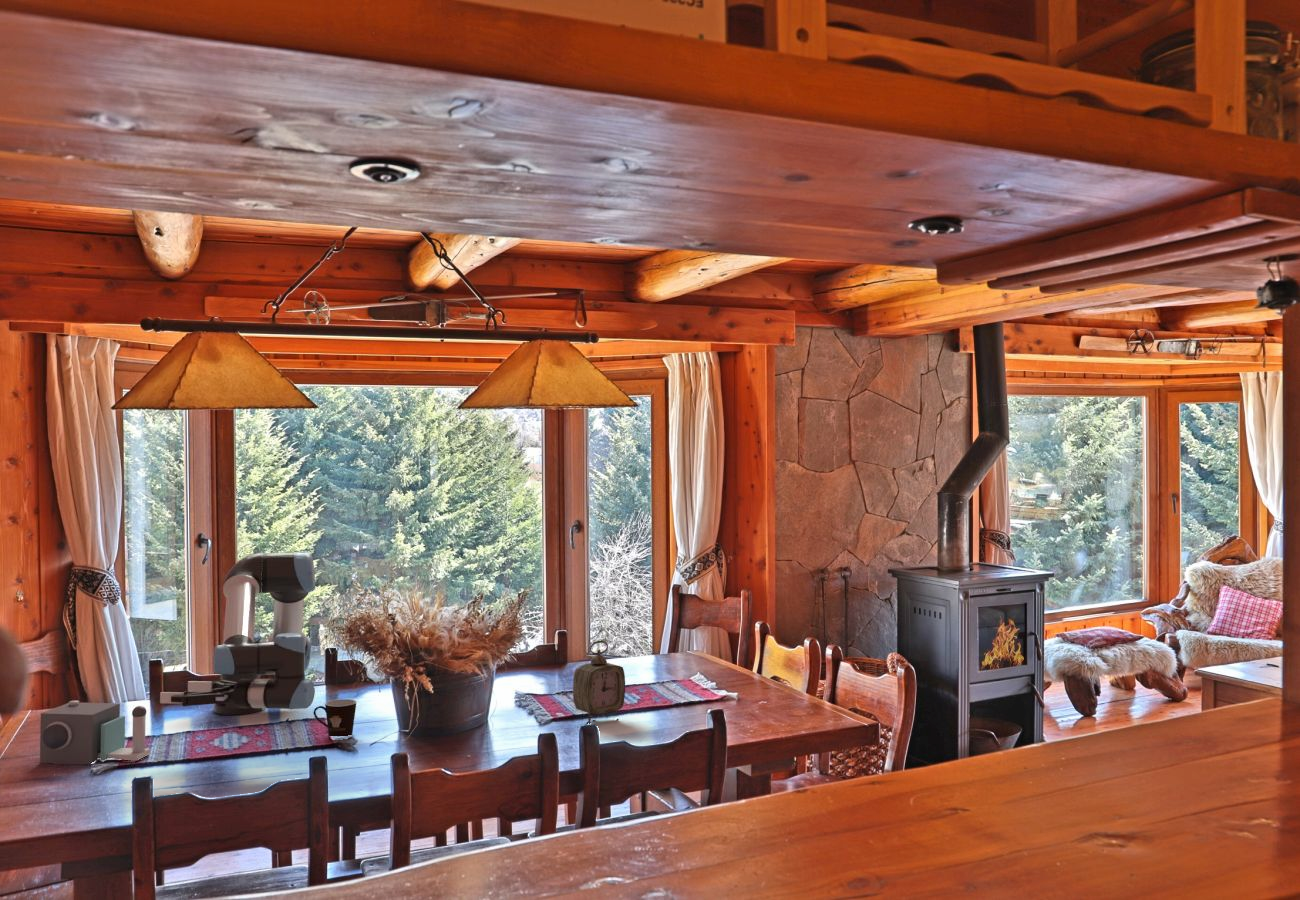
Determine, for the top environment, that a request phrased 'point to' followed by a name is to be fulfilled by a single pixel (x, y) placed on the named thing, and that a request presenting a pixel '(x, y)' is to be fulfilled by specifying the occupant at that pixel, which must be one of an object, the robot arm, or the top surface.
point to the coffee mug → (339, 716)
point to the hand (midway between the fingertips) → (174, 691)
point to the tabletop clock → (599, 686)
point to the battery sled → (116, 738)
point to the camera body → (74, 732)
